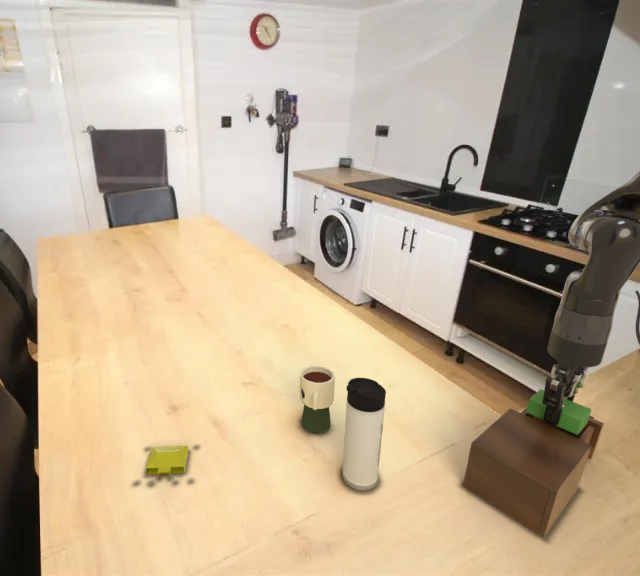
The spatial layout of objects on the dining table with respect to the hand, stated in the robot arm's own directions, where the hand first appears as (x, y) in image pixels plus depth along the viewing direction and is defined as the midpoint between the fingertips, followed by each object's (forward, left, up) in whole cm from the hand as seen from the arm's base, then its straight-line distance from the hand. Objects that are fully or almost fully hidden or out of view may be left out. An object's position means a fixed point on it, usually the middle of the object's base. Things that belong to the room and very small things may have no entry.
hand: (556, 415), depth 74 cm
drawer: (-2, 0, -9) cm, 9 cm away
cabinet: (+11, 0, -10) cm, 15 cm away
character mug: (+27, -34, -10) cm, 45 cm away
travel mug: (+31, -19, -10) cm, 38 cm away
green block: (0, 0, 0) cm, 0 cm away
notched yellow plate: (+57, -44, -10) cm, 73 cm away
